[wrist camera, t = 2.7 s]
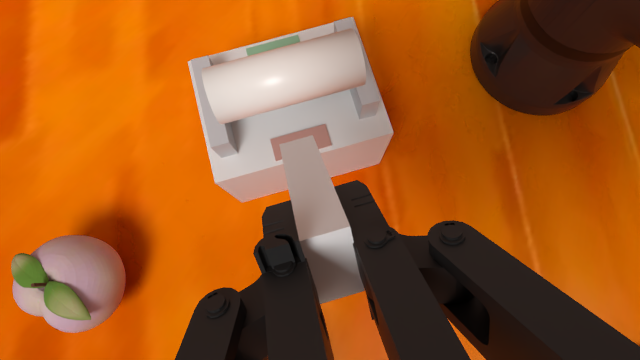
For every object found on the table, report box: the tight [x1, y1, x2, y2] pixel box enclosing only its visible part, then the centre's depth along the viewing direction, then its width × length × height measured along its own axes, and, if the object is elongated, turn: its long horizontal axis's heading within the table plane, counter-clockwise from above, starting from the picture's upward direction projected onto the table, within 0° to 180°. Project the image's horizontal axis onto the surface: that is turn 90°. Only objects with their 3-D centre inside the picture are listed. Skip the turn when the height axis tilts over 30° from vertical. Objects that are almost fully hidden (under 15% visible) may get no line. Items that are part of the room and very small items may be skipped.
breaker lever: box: [202, 28, 366, 124], centre depth 26 cm, size 3×10×15 cm, turn 105°
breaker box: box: [188, 17, 394, 202], centre depth 37 cm, size 12×16×13 cm
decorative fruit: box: [11, 235, 126, 333], centre depth 36 cm, size 9×8×10 cm
